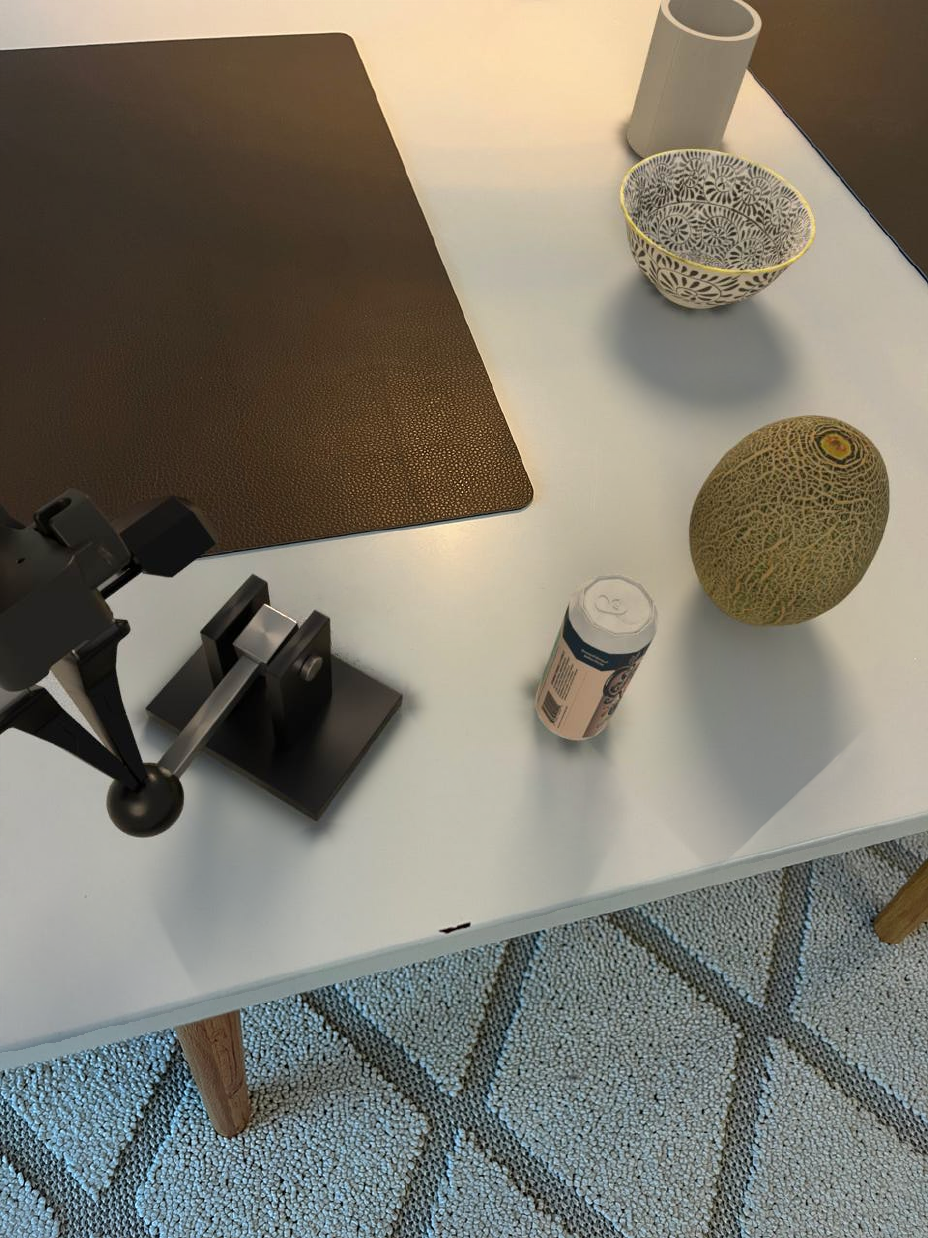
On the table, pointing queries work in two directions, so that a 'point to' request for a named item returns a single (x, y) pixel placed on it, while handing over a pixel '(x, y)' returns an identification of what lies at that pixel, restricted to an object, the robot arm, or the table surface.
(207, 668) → the lever base
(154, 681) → the table surface
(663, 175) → the bowl
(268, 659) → the ball knob lever
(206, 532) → the robot arm
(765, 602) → the fruit
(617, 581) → the beer can
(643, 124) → the cup
